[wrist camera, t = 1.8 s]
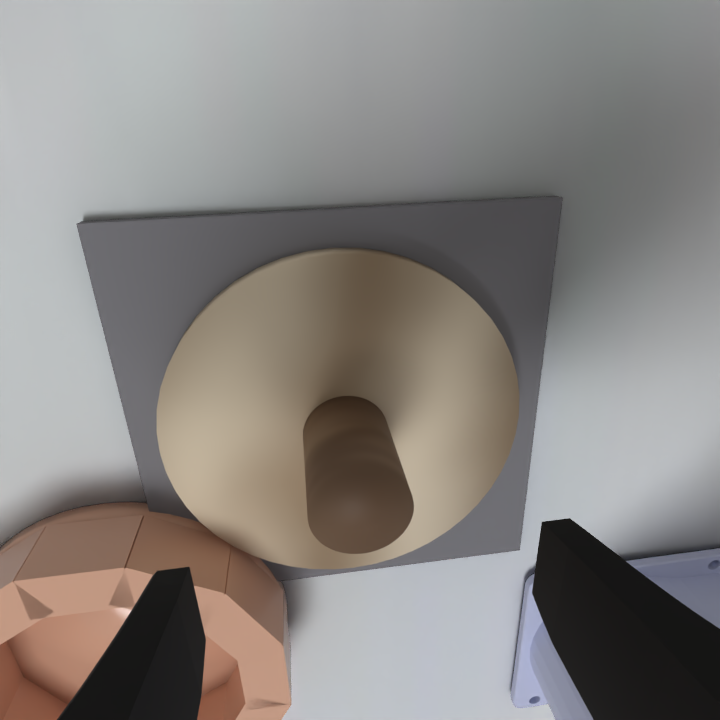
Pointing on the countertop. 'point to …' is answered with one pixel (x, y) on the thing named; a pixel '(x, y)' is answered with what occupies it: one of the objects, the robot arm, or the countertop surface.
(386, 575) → the countertop surface
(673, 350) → the countertop surface
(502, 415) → the lid
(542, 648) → the robot arm
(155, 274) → the mat
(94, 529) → the bowl
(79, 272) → the countertop surface
